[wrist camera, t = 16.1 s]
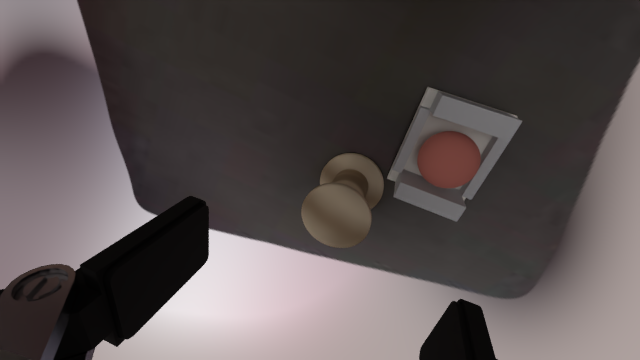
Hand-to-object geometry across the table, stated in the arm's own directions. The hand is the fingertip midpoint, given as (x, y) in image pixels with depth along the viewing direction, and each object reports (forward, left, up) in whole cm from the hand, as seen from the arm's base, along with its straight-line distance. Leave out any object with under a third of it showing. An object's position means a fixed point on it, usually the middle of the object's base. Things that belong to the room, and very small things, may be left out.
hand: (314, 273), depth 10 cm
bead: (-1, +7, -22) cm, 24 cm away
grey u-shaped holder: (-1, +7, -23) cm, 25 cm away
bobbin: (+7, -1, -23) cm, 25 cm away
